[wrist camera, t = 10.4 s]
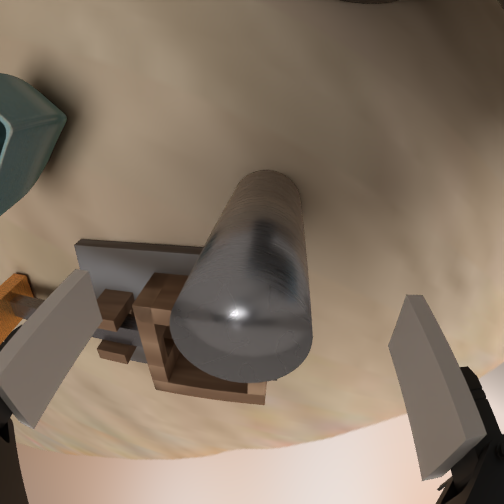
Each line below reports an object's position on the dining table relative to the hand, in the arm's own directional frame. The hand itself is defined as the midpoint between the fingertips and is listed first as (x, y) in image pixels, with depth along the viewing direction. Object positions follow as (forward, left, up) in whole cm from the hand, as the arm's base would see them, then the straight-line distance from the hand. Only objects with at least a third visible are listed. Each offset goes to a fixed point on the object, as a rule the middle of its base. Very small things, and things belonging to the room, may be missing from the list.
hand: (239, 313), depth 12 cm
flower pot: (-7, -20, -13) cm, 25 cm away
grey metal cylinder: (0, 0, -12) cm, 12 cm away
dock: (+11, -7, -12) cm, 18 cm away
